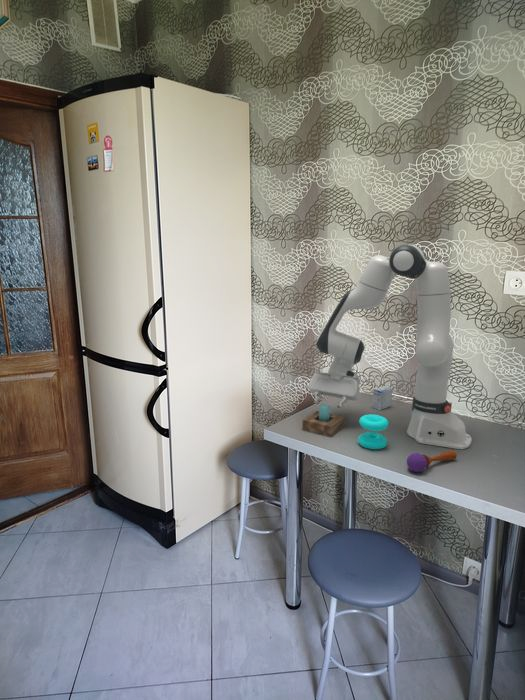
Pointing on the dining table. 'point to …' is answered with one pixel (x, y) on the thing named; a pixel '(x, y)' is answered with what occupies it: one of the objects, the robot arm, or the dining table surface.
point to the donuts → (372, 438)
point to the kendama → (427, 460)
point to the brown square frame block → (323, 424)
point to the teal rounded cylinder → (324, 413)
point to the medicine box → (382, 397)
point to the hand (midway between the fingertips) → (327, 405)
